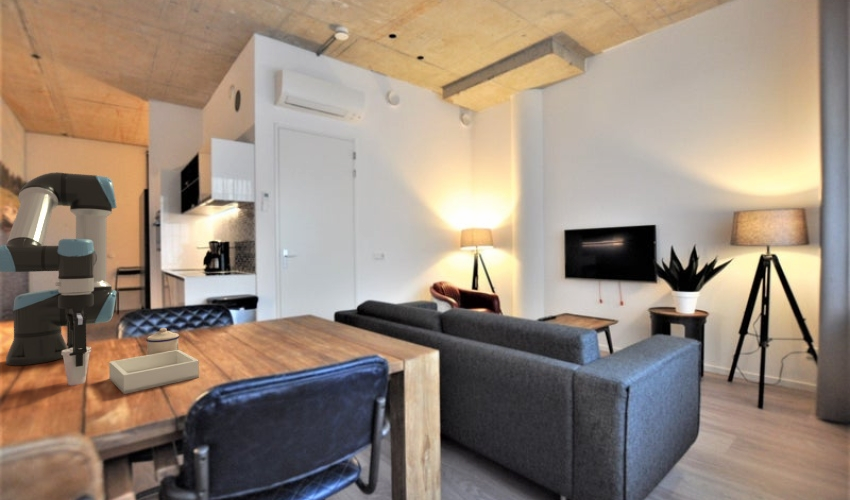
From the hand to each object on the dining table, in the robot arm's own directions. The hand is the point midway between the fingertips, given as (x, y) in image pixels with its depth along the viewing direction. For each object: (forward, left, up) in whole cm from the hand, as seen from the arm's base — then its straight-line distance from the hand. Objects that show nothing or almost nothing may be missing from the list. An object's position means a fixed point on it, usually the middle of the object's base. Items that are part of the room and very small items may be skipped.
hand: (76, 374), depth 111 cm
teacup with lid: (-5, +22, -3) cm, 23 cm away
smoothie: (0, 0, -3) cm, 3 cm away
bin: (+11, +16, -2) cm, 20 cm away
